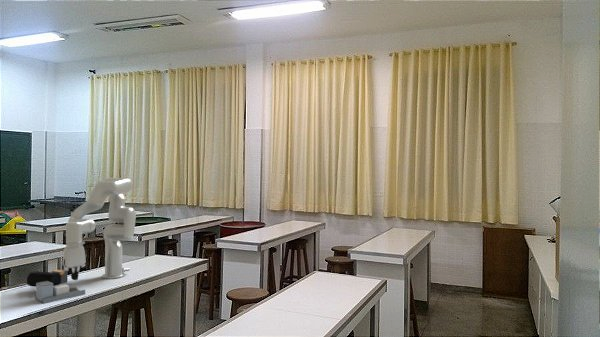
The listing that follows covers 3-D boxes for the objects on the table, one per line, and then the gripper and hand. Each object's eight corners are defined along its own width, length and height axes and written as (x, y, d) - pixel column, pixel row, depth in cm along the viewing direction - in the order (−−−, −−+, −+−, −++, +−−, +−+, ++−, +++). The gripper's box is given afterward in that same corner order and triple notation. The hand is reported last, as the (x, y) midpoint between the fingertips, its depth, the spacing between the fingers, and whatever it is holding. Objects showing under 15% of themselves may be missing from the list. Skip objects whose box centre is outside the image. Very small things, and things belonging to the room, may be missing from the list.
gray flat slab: (76, 290, 224) (76, 286, 224) (85, 294, 218) (85, 289, 218) (34, 299, 208) (34, 295, 208) (43, 303, 202) (43, 299, 202)
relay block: (60, 281, 242) (60, 269, 242) (67, 282, 240) (67, 270, 240) (51, 283, 238) (52, 271, 238) (59, 284, 235) (59, 272, 235)
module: (64, 283, 217) (50, 286, 212) (69, 285, 213) (55, 288, 208) (63, 292, 217) (50, 295, 212) (69, 294, 213) (55, 297, 208)
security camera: (55, 295, 216) (56, 275, 216) (25, 292, 220) (25, 273, 220) (65, 291, 223) (66, 272, 223) (36, 289, 226) (36, 270, 226)
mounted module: (47, 295, 211) (47, 280, 211) (53, 298, 207) (53, 283, 207) (35, 298, 207) (36, 283, 207) (41, 300, 203) (42, 285, 203)
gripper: (85, 241, 228) (85, 274, 229) (55, 246, 216) (56, 281, 217) (92, 243, 224) (92, 277, 224) (62, 248, 212) (63, 284, 212)
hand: (74, 279), depth 221 cm, fingers closed
